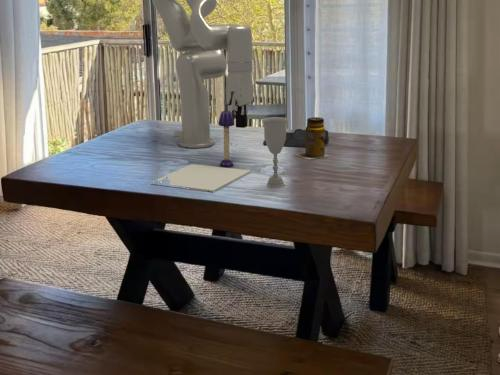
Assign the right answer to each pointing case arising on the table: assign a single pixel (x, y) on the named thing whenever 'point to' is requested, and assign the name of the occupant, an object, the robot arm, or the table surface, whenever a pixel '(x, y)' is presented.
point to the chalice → (275, 144)
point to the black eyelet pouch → (298, 139)
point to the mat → (204, 177)
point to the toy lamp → (226, 136)
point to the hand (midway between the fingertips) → (241, 127)
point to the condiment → (314, 139)
